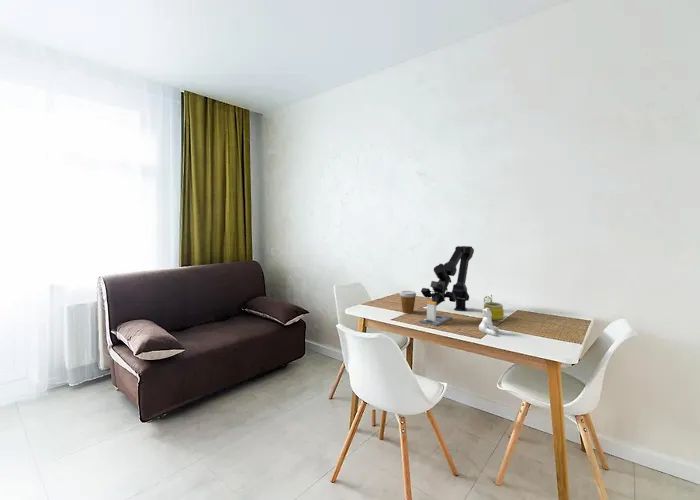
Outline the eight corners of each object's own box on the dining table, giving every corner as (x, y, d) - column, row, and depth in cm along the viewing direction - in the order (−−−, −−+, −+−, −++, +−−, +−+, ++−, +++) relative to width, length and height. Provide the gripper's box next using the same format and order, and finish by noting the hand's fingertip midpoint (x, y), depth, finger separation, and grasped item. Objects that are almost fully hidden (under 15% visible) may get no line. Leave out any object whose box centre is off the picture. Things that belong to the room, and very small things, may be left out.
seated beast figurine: (495, 336, 159) (496, 311, 158) (476, 333, 164) (477, 309, 163) (499, 331, 167) (499, 307, 166) (480, 328, 172) (481, 305, 171)
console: (435, 315, 195) (435, 312, 195) (452, 318, 188) (452, 315, 188) (419, 322, 182) (419, 318, 182) (436, 326, 175) (436, 322, 175)
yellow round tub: (505, 321, 183) (506, 299, 182) (484, 320, 185) (485, 298, 184) (500, 314, 196) (501, 294, 195) (480, 314, 198) (480, 293, 197)
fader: (428, 319, 184) (428, 300, 183) (436, 320, 180) (436, 302, 180) (426, 320, 182) (426, 301, 181) (434, 321, 179) (434, 302, 178)
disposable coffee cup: (415, 310, 207) (415, 290, 206) (416, 314, 197) (417, 294, 196) (399, 309, 208) (399, 290, 207) (400, 314, 198) (400, 293, 197)
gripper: (422, 273, 190) (412, 296, 183) (454, 277, 178) (444, 301, 171) (429, 285, 197) (419, 307, 190) (460, 289, 184) (450, 313, 177)
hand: (432, 307), depth 182 cm, fingers closed
